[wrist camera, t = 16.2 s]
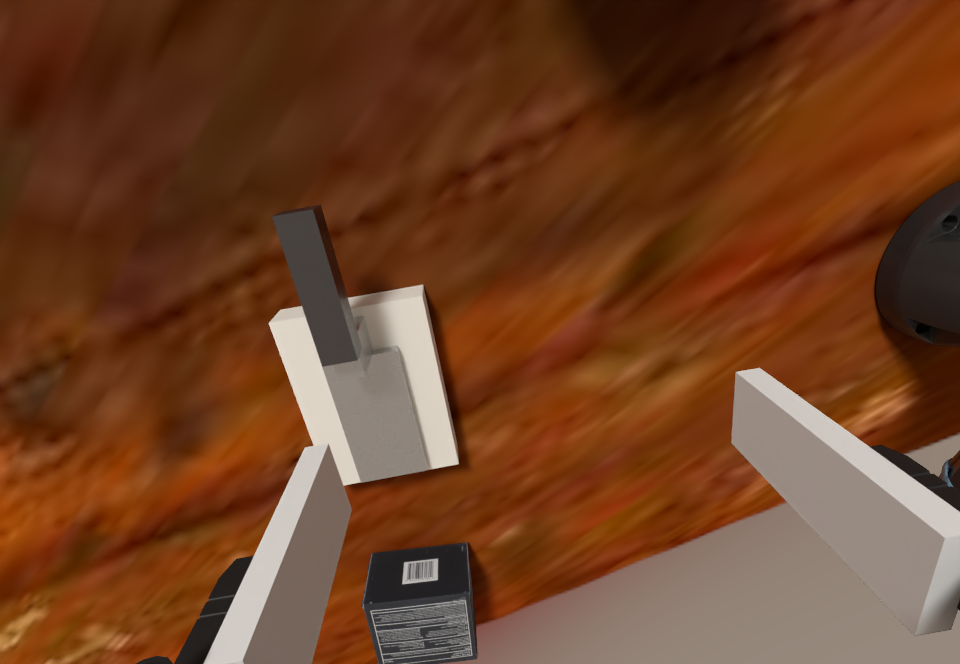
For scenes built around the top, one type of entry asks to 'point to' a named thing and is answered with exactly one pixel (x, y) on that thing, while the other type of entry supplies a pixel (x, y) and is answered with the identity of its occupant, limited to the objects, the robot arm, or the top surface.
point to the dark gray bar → (351, 355)
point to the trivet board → (388, 324)
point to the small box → (421, 605)
